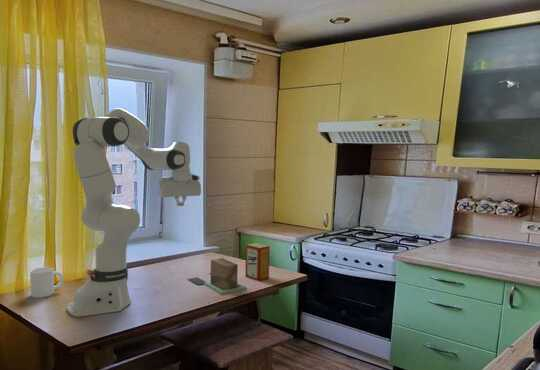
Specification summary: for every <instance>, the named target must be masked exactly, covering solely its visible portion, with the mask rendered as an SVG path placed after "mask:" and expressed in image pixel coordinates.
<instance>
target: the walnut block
mask: <svg viewBox="0 0 540 370" xmlns="http://www.w3.org/2000/svg"><path fill="white" fill-rule="evenodd" d="M238 266H239V265H238V264H237V263H235V262H232V261H231V260H228V259H226V258H222V257H221V258H220V257H219V258H214V259H210V273H211V274H210V284H211V285H213V286H214V287H216V288H218V289H220V290H222V291H224V290H229V289H234V288H238V287H237V283H238V271H239V270H238Z"/></svg>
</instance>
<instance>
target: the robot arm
mask: <svg viewBox="0 0 540 370" xmlns="http://www.w3.org/2000/svg"><path fill="white" fill-rule="evenodd" d="M72 137H73V140H74V141H73V142H74V144H75V148H74V149H73V159H74V165H75V169H76V172H77V175H78V178H79V181H80V183H81V187H82V189H83V193H84V198H85V206H84V208H83V210H82V213H81V221H82V223H83V225H84V226H86V227H87V228H89V229H91V230H93V231H96V232H103V234H104V236H103V240H102V242H101V244H99V245H98V246H96V249H95V268H94V269H93V270H92V269H87V270H86V274H87V275H88V276H89V278H90V279H89V280H88V281H87V282H85V284H83V285H82V286H81V287H79V288H78V289H77V290H76V291H75V293H74V297H73V302H70V303H69V304H68V305H67V308H66V309H67V312H68V314H70V315H71V316H73V317H75V318H76V317H77V318H79V317H87V316H94V315H95V316H96V315H102V314H110V313H116V312H120V311H123V309H124V308H126V307H128V306H129V305H130V304H131V302H132V300H131V298H130V293H129V289H128V278H129V273H128V272H129V271H128V266H127V249H128V243H129V241H130V238H131V236H132V235H133V234H134V233H135V232H136V231H137V230H138V228H140V227H139V226H140V224H141V217H140V213H139V211H138V210H137V209H135V208H133V207H131V206H129V205H125V204H116V203H114V202H113V198H112V194H113V193H114V192H115V190H116V187H117V186H116V185H117V183H116V181H115V178H114V175H113V173H112V169H111V165H110V163H109V161H108V159H107V156H106V148H109V147H119V146H122V145H125V147H126V148H127V149H128V150H129V151H130V152H132V153H133V154H134V155H135V156H136V157H137V158H138V159H139V160H140V162H141V163H142V164H143V166H144V167H145V169H147V170H148V171H158V170H159V171H170V176H162V177H161V178H159V190H158V195H159V197H161V198H174V200H175V203H176V206H177V207H184V206H185V201H186V200H187V197H193V196H194V197H197V196H200V195H201V194H202V187H201V186H202V185H201V182H200V175H197V174H194V173H191V168H190V163H191V150H190V145H189V144H188V143H185V142H181V141H174V142H173V143H172V145H171V146H170V147H168V148H153V147H148V146H147V145H146V144H147V142H148V140H149V138H150V130H149V128H148V127H147V125H146V124H145V123H144V122H143V121H142V120H141V119H139V118H138V117H136V116H135V115H134V114H132V113H130V112H128V111H127V110H124V109H123V108H117V107H116V108H114V109H112V110H110V111H108V113H107V114H106V116H93V117H84V118H81V119H78V120H77V121H76V122H74V124H73V126H72ZM180 197H181V201H180V200H179V199H180Z"/></svg>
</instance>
